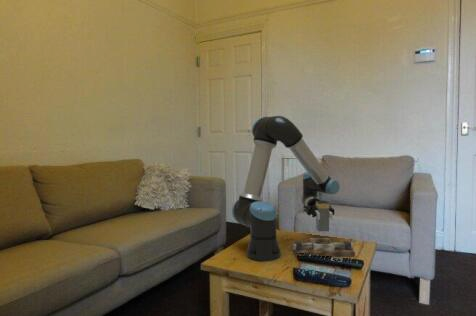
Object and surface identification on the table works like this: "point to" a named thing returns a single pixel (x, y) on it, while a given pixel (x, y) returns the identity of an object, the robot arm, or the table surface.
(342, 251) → the shaft board
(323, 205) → the coupler
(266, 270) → the table surface
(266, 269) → the table surface
